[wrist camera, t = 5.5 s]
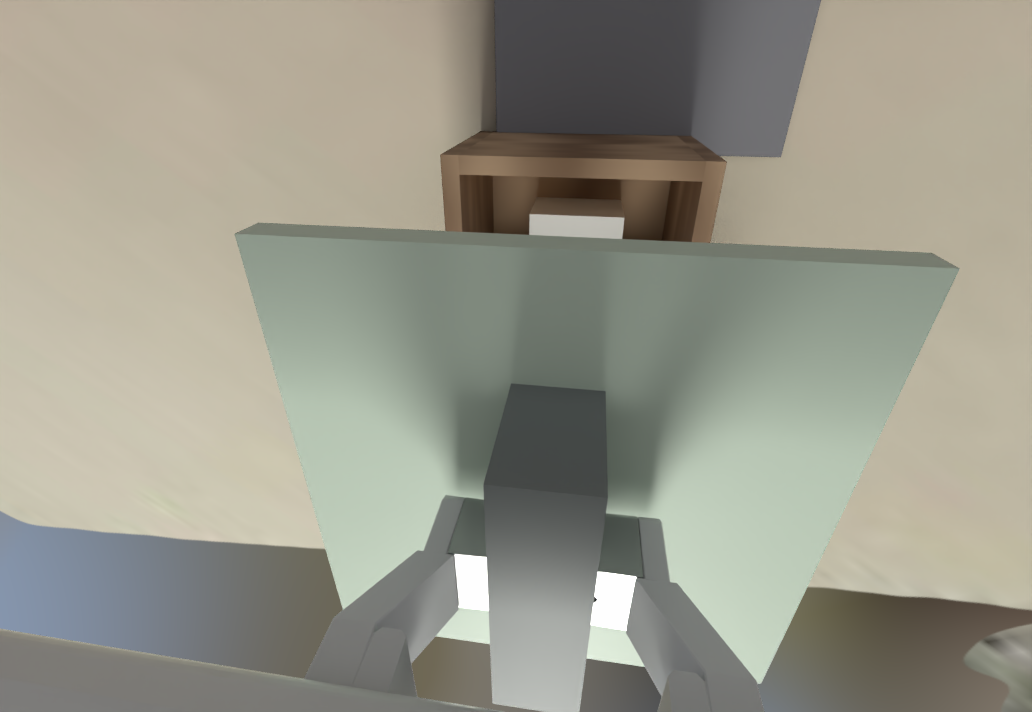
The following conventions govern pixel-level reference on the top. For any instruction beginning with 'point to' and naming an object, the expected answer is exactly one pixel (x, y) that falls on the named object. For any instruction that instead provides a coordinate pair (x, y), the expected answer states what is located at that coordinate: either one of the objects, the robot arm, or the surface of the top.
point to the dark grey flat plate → (654, 68)
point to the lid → (586, 415)
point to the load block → (577, 218)
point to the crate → (583, 181)
